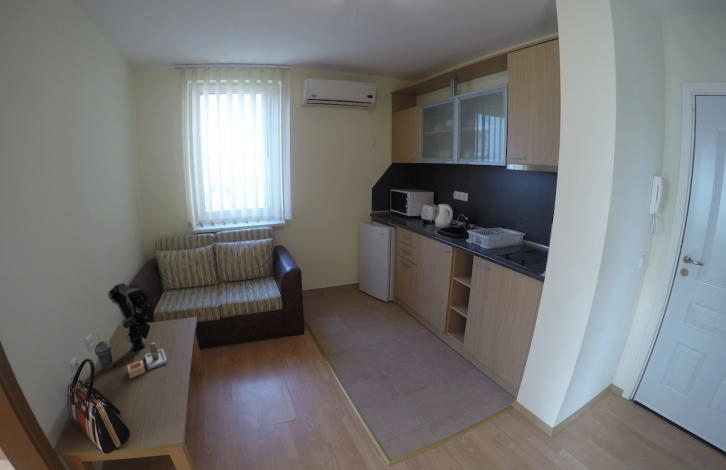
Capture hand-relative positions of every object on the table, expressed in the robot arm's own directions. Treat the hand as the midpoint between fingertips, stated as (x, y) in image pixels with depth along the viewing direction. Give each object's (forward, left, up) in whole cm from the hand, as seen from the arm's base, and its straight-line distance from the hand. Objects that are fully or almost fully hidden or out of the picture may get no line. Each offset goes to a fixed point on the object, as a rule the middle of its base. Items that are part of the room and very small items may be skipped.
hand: (144, 335), depth 181 cm
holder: (+14, -7, -13) cm, 20 cm away
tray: (+9, +2, -13) cm, 16 cm away
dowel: (+9, +2, -12) cm, 15 cm away
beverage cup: (-2, -19, -13) cm, 23 cm away
